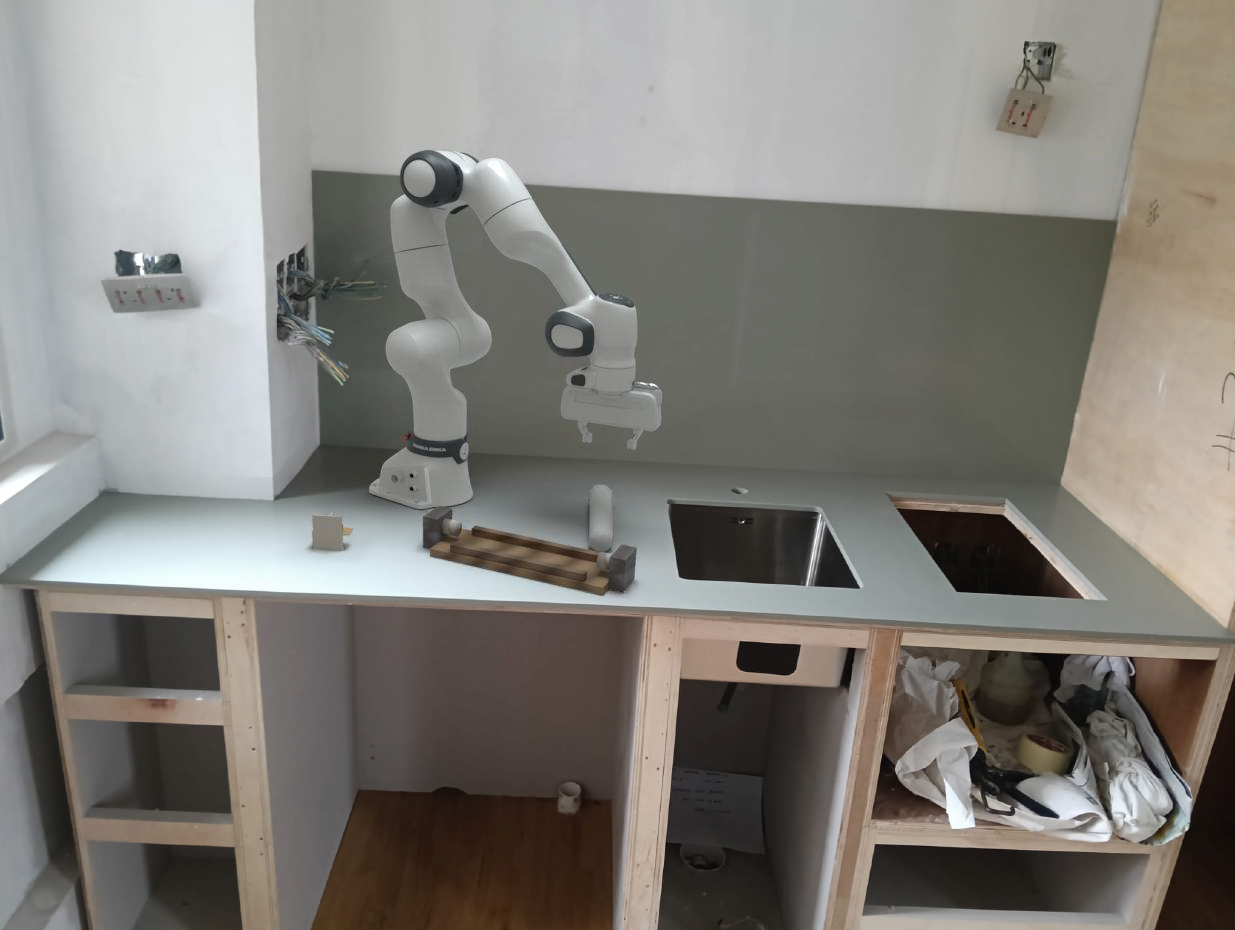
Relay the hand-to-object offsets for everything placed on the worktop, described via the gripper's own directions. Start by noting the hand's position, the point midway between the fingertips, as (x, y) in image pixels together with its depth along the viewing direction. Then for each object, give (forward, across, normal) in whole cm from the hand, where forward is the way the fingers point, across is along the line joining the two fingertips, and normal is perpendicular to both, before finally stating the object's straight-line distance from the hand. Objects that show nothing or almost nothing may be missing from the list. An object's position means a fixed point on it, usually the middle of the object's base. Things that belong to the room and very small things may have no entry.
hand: (609, 445), depth 198 cm
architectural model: (+18, +44, +32) cm, 58 cm away
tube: (+19, +1, 0) cm, 19 cm away
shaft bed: (+18, +8, +22) cm, 29 cm away
